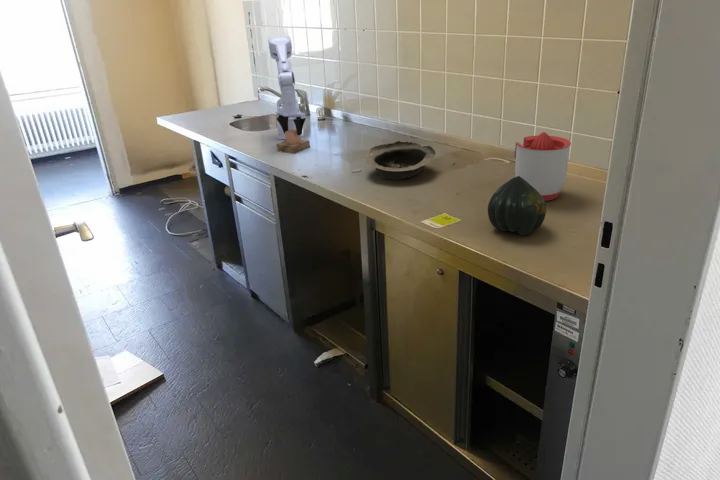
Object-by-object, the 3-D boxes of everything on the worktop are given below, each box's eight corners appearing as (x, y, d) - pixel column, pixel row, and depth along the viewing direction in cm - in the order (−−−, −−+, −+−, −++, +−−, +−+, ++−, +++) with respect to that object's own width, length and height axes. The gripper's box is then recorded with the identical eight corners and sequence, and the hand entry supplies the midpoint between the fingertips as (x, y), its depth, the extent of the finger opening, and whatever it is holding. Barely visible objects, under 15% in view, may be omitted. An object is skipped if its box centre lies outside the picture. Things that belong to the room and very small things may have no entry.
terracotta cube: (286, 143, 232) (284, 131, 230) (293, 140, 235) (291, 129, 233) (294, 144, 229) (293, 132, 227) (301, 141, 233) (299, 129, 231)
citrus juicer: (520, 182, 179) (524, 122, 171) (572, 191, 169) (580, 128, 161) (498, 197, 169) (501, 134, 160) (553, 208, 158) (560, 141, 150)
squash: (513, 229, 135) (541, 176, 135) (469, 214, 146) (495, 166, 147) (539, 250, 144) (564, 201, 144) (495, 235, 155) (519, 189, 156)
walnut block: (277, 152, 233) (276, 144, 231) (292, 146, 240) (291, 138, 239) (295, 154, 227) (294, 146, 226) (310, 148, 235) (309, 140, 233)
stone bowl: (414, 158, 210) (415, 136, 205) (446, 182, 189) (448, 157, 185) (355, 168, 202) (355, 145, 198) (382, 193, 182) (382, 168, 177)
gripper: (269, 102, 226) (273, 134, 232) (296, 104, 218) (299, 137, 224) (281, 99, 231) (284, 130, 237) (307, 101, 223) (310, 133, 229)
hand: (292, 134), depth 231 cm, fingers open, 7 cm apart
